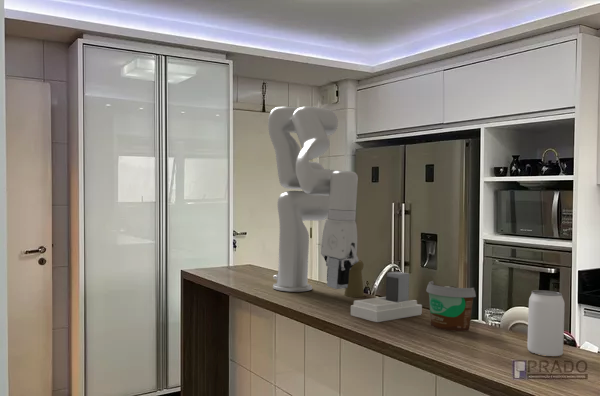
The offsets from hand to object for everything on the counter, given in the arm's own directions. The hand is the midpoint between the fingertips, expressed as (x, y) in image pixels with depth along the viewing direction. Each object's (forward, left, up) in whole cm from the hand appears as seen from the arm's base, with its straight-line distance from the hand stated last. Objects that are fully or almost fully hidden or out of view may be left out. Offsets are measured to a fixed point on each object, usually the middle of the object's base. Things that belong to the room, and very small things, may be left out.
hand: (337, 281), depth 146 cm
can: (+55, +5, -7) cm, 56 cm away
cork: (-10, +16, -7) cm, 20 cm away
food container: (+31, +5, -7) cm, 33 cm away
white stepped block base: (+15, +4, -7) cm, 17 cm away
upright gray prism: (0, 0, -1) cm, 1 cm away
